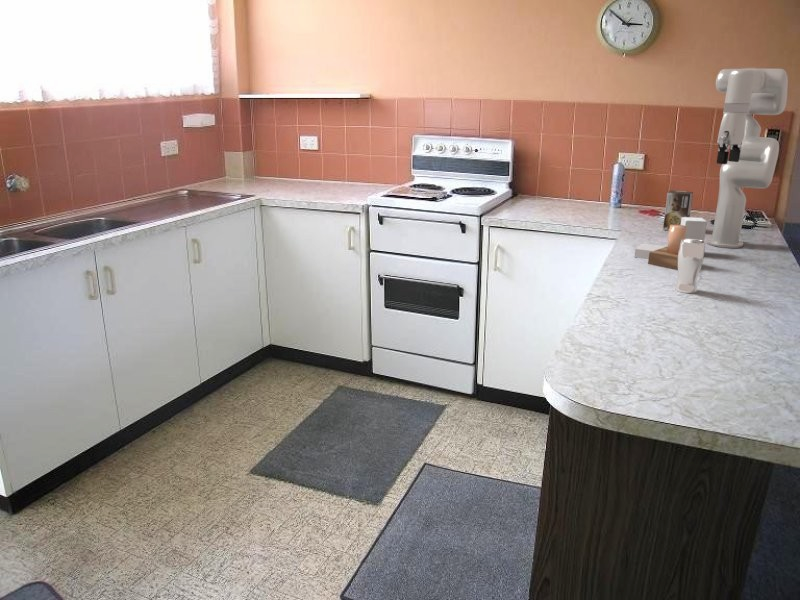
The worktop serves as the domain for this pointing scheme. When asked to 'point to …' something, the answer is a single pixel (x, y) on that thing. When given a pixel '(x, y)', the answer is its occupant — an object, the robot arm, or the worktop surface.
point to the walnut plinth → (663, 259)
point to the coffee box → (677, 207)
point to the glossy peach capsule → (675, 238)
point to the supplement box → (694, 227)
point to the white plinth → (646, 250)
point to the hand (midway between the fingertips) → (727, 162)
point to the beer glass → (689, 264)
